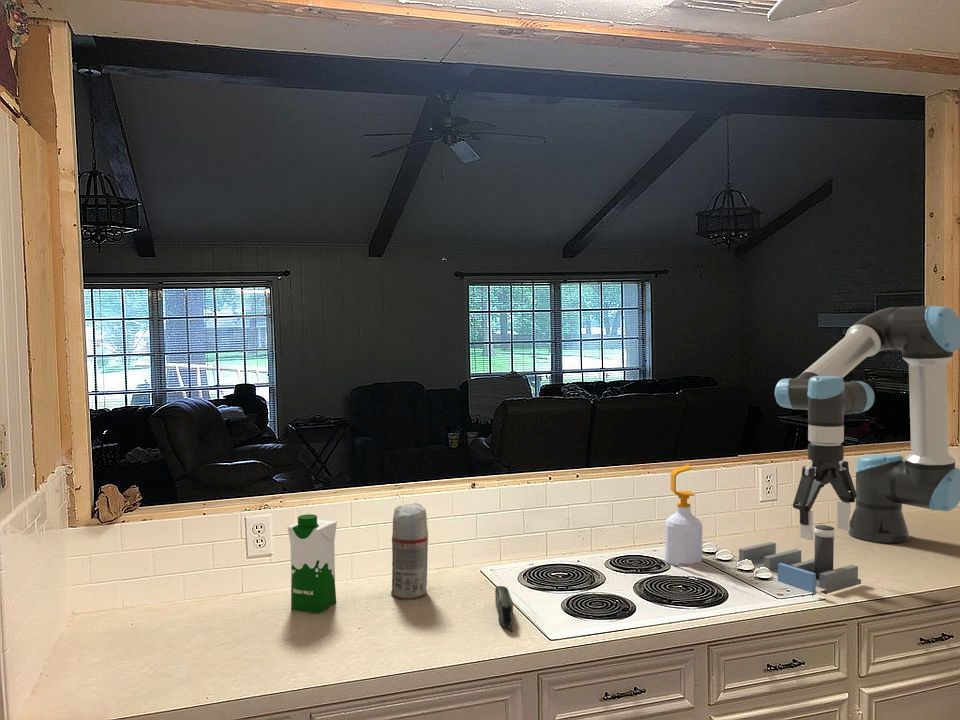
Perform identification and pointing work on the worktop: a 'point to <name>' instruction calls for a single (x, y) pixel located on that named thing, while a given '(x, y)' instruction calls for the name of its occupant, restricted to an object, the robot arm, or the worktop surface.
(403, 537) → the spray can
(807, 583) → the blue rectangular block
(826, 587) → the grey slotted rack
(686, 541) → the soap bottle
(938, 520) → the worktop surface
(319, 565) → the milk carton
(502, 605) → the mobile phone
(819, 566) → the grey banded cylinder
